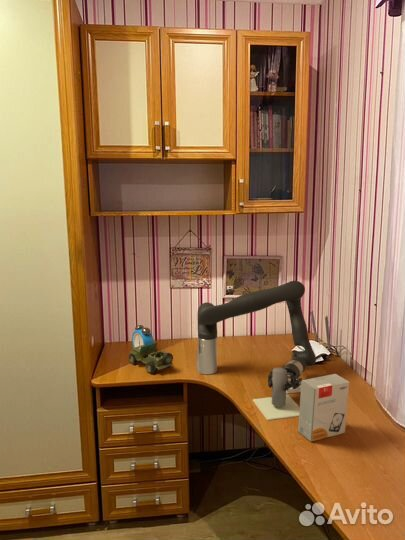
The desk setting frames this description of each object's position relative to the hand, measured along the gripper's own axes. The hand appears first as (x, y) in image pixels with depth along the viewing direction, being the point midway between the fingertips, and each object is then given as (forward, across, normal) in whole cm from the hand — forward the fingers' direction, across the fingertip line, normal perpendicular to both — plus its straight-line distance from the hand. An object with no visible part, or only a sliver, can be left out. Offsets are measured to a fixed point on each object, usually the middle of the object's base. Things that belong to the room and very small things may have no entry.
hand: (276, 387), depth 164 cm
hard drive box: (+6, +20, +10) cm, 23 cm away
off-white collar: (-22, -1, +10) cm, 24 cm away
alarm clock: (-20, -84, +10) cm, 86 cm away
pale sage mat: (-2, 0, +10) cm, 10 cm away
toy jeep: (-8, -69, +10) cm, 70 cm away
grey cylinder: (-3, 0, +8) cm, 8 cm away
